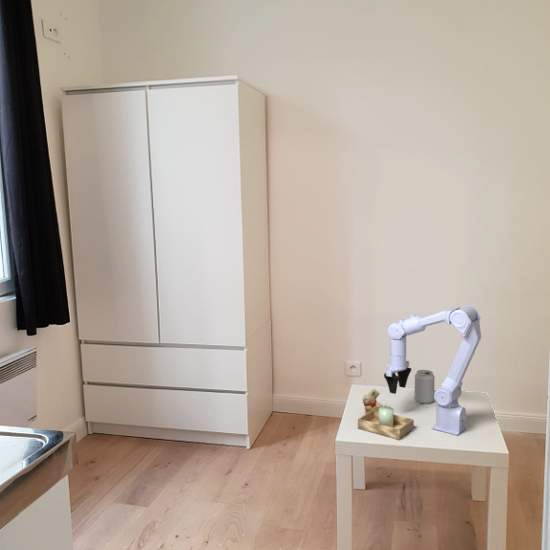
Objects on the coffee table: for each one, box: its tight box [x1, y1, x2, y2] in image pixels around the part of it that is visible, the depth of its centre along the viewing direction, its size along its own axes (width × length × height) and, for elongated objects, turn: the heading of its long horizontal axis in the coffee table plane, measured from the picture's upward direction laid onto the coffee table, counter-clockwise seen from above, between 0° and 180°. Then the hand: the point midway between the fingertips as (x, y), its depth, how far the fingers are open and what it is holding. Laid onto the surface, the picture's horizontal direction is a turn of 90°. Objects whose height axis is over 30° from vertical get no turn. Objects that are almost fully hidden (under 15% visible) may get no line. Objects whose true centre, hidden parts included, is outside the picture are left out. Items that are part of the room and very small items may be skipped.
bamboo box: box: [357, 409, 415, 441], centre depth 205 cm, size 16×11×4 cm
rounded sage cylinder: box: [379, 406, 395, 428], centre depth 206 cm, size 5×5×6 cm
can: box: [413, 369, 436, 405], centre depth 230 cm, size 8×8×12 cm
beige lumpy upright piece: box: [362, 388, 384, 415], centre depth 219 cm, size 6×8×10 cm
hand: (397, 389), depth 215 cm, fingers open, 7 cm apart
